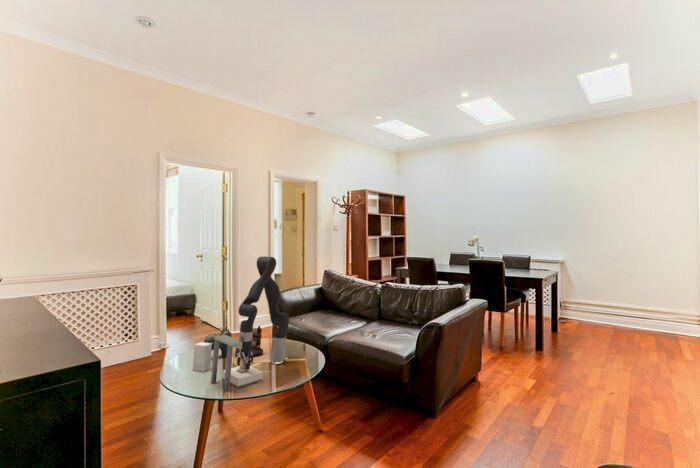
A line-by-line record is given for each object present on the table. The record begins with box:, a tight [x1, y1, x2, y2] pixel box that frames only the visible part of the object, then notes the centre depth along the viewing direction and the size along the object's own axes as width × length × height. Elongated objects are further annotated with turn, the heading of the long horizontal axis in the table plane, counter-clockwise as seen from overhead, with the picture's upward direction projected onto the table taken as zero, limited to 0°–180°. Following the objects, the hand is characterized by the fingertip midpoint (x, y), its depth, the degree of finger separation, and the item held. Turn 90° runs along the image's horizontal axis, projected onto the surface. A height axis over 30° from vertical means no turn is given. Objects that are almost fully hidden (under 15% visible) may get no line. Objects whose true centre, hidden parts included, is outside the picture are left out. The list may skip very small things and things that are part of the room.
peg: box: [239, 357, 247, 374], centre depth 198 cm, size 4×4×12 cm
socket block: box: [221, 365, 264, 389], centre depth 198 cm, size 16×16×5 cm
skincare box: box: [192, 341, 213, 373], centre depth 209 cm, size 8×7×16 cm
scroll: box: [250, 325, 264, 357], centre depth 245 cm, size 15×15×20 cm
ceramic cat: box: [203, 327, 233, 358], centre depth 230 cm, size 20×6×20 cm, turn 139°
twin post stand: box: [210, 335, 242, 392], centre depth 189 cm, size 7×17×25 cm, turn 52°
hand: (243, 367), depth 198 cm, fingers open, 8 cm apart
